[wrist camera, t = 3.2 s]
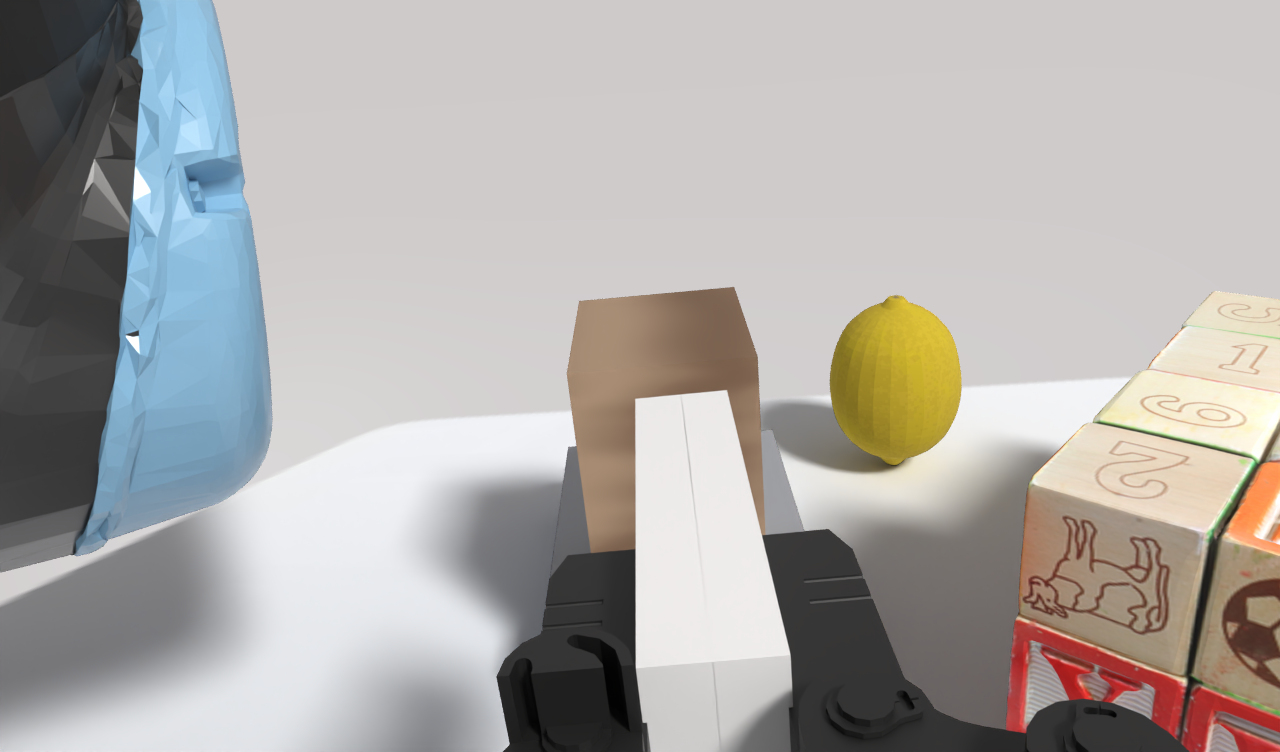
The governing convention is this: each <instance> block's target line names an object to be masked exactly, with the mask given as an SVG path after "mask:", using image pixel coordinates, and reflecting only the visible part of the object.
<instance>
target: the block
mask: <svg viewBox="0 0 1280 752" xmlns="http://www.w3.org/2000/svg"><path fill="white" fill-rule="evenodd" d="M567 378H568V385H569V393H570V400H571V408H572V416H573V423H574V431H575V438H576V445H577V453H578V460H579V468H580V475H581V483H582V490H583V498H584V505H585V512H586V520H587V527H588V535H589V542H590V550H591V553H597V552H608V551H620V550H631V549H636V450H635V399H638V398H649V397H659V396H670V395H681V394H691V393H702V392H712V391H723V390H727V393H728V397H729V401H730V405H731V409H732V414H733V418H734V422H735V426H736V430H737V434H738V439H739V443H740V447H741V451H742V455H743V459H744V463H745V468H746V472H747V476H748V480H749V484H750V488H751V493H752V497H753V501H754V505H755V509H756V513H757V518H758V522H759V526H760V530H761V534H762V535H766V533H765V511H764V489H763V467H762V444H761V422H760V400H759V378H758V357H757V354H756V351H755V348H754V345H753V342H752V339H751V336H750V333H749V330H748V327H747V324H746V321H745V318H744V315H743V312H742V309H741V306H740V303H739V300H738V297H737V294H736V291H735V289H734V287H730V288H720V289H708V290H698V291H686V292H675V293H664V294H653V295H641V296H630V297H619V298H609V299H597V300H586V301H579V306H578V311H577V317H576V324H575V329H574V335H573V341H572V346H571V353H570V359H569V364H568V370H567Z"/></svg>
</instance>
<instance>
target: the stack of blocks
mask: <svg viewBox="0 0 1280 752" xmlns="http://www.w3.org/2000/svg"><path fill="white" fill-rule="evenodd" d="M1075 699H1090V700H1097V701H1103V702H1110V703H1115V704H1117V705H1120V706H1122V707H1125V708H1128V709H1130V710H1133V711H1135V712H1138V713H1140V714H1143V715H1144V716H1146V717H1147V718H1149V719H1150V720H1152V721H1153V722H1155V723H1156V724H1157V725H1159V726H1160V727H1162V728H1163V729H1165V730H1166V731H1168V732H1169V733H1170V734H1171V735H1172V736H1173V737H1174V738H1175V739H1177V740H1178V741H1179V742H1180V743H1181V744H1182V745H1183V746H1184V747H1185V748H1186V749H1187V750H1189V751H1190V752H1280V300H1279V299H1272V298H1265V297H1258V296H1249V295H1242V294H1234V293H1226V292H1218V291H1214V292H1212V293H1211V294H1210V295H1209V296H1208V297H1207V298H1206V299H1205V300H1204V301H1203V302H1202V303H1201V305H1200V306H1199V307H1198V309H1197V310H1195V311H1194V312H1193V313H1192V314H1191V316H1190V317H1189V318H1188V319H1187V320H1186V321H1185V322H1184V323H1183V325H1182V328H1181V330H1180V331H1179V332H1178V333H1177V334H1176V335H1175V336H1174V337H1173V338H1172V339H1171V341H1170V342H1169V343H1168V344H1167V345H1166V347H1165V348H1164V349H1163V350H1162V351H1161V352H1160V353H1159V354H1158V355H1157V356H1156V357H1155V358H1154V359H1153V360H1152V362H1151V363H1150V365H1149V367H1148V369H1146V370H1142V371H1139V372H1138V373H1137V374H1136V375H1135V376H1133V377H1132V378H1131V380H1130V381H1129V382H1128V383H1127V384H1126V385H1125V386H1124V387H1123V388H1122V389H1121V390H1120V391H1119V392H1118V393H1117V394H1116V395H1115V396H1114V397H1113V398H1112V399H1111V400H1110V401H1109V402H1108V404H1107V405H1106V406H1105V407H1104V408H1103V409H1102V410H1101V411H1100V412H1099V413H1098V414H1097V415H1096V416H1095V417H1094V420H1093V423H1087V424H1085V425H1083V426H1082V427H1081V428H1080V429H1079V430H1078V431H1077V432H1076V433H1075V434H1074V435H1073V436H1072V437H1071V438H1070V439H1069V440H1068V441H1067V442H1066V443H1065V444H1064V445H1063V446H1062V447H1061V448H1060V449H1059V450H1058V451H1057V452H1056V453H1055V454H1054V455H1053V456H1052V457H1051V458H1050V459H1049V460H1048V461H1047V462H1046V463H1045V464H1044V465H1043V466H1042V467H1041V468H1040V469H1039V470H1038V471H1037V472H1036V473H1035V474H1034V475H1033V477H1032V478H1031V480H1030V482H1029V486H1028V489H1027V495H1026V505H1025V516H1024V535H1023V548H1022V555H1021V568H1020V584H1019V614H1018V616H1017V618H1016V620H1015V624H1014V631H1013V641H1012V650H1011V657H1010V672H1009V685H1008V697H1007V715H1006V730H1009V731H1015V732H1021V733H1026V727H1027V726H1028V724H1029V723H1030V721H1031V720H1032V718H1033V717H1034V715H1035V714H1036V712H1037V711H1039V710H1041V709H1043V708H1045V707H1047V706H1049V705H1051V704H1053V703H1055V702H1057V701H1066V700H1075Z"/></svg>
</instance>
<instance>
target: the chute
mask: <svg viewBox="0 0 1280 752" xmlns="http://www.w3.org/2000/svg"><path fill="white" fill-rule="evenodd" d="M761 444H762V467H763V489H764V511H765V533H766V535H769V534H780V533H792V532H803V531H804V529H803V526H802V522H801V519H800V516H799V513H798V510H797V506H796V503H795V500H794V497H793V494H792V491H791V487H790V484H789V481H788V478H787V475H786V472H785V468H784V465H783V462H782V459H781V456H780V452H779V449H778V446H777V443H776V440H775V437H774V433H773V430H762V431H761ZM586 553H591V550H590V542H589V535H588V527H587V520H586V512H585V505H584V498H583V490H582V483H581V475H580V468H579V460H578V453H577V446H575V447H568V453H567V460H566V467H565V474H564V481H563V488H562V495H561V502H560V509H559V517H558V524H557V531H556V538H555V545H554V552H553V559H552V566H551V574H550V577H551V576H552V575H553V573H554V572H555V571H556V570H557V568H558V567H559V566H560V565H561V563H562V562H563V561H564V559H565V558H566V557H567V556H568V555H575V554H586Z"/></svg>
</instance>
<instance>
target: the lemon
mask: <svg viewBox="0 0 1280 752" xmlns="http://www.w3.org/2000/svg"><path fill="white" fill-rule="evenodd" d="M830 392H831V400H832V406H833V410H834V414H835V417H836V419H837V422H838V424H839V426H840V427H841V429H842V430H843V432H844V433H845V434H846V436H847V437H848V438H849V439H850V440H851V441H852V442H853V443H854V444H855V445H856V446H858V447H859V448H861V449H862V450H863V451H865V452H867V453H870V454H872V455H874V456H878V457H880V458H881V459H883V460H884V461H885V462H886V463H887V464H890V465H897V464H899V463H901V462H902V461H903V460H905V459H906V458H910V457H914V456H917V455H919V454H921V453H924V452H926V451H928V450H929V449H931V448H932V447H933V446H935V445H936V444H937V443H938V442H939V441H940V440H941V439H942V438H943V437H944V436H945V435H946V433H947V432H948V430H949V429H950V427H951V425H952V423H953V421H954V419H955V416H956V413H957V411H958V407H959V403H960V397H961V370H960V364H959V358H958V353H957V349H956V346H955V342H954V340H953V337H952V335H951V333H950V332H949V330H948V329H947V327H946V326H945V325H944V324H943V323H942V322H941V321H940V320H939V318H938V317H937V316H935V315H934V314H933V313H931V312H930V311H928V310H926V309H925V308H923V307H921V306H918V305H915V304H913V303H909V302H908V301H907V300H906V299H905V298H904V297H903V296H898V295H897V296H896V295H895V296H890V297H888V298H887V299H886V300H885V301H884V302H883V303H880V304H877V305H874V306H871V307H869V308H867V309H866V310H864V311H862V312H861V313H860V314H859V315H857V316H856V317H855V318H854V319H852V320H851V321H850V323H849V324H848V325H847V326H846V328H845V329H844V331H843V332H842V334H841V337H840V338H839V341H838V343H837V345H836V349H835V352H834V355H833V360H832V365H831V372H830Z"/></svg>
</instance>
